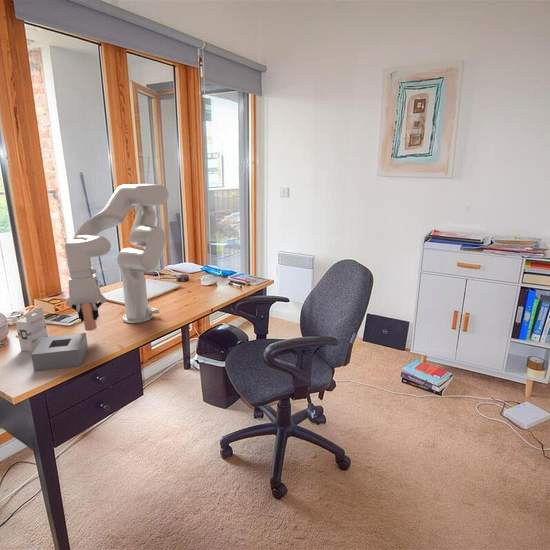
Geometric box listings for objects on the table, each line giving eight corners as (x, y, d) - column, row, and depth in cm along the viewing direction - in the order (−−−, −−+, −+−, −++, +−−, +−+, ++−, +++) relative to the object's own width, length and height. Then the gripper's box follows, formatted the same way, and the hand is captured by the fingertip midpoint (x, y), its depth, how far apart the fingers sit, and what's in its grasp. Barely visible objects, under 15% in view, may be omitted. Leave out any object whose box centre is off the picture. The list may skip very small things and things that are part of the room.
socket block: (88, 347, 146) (85, 332, 144) (80, 365, 133) (77, 349, 131) (46, 352, 142) (43, 337, 141) (34, 371, 129) (31, 354, 128)
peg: (97, 325, 152) (92, 294, 148) (95, 329, 149) (90, 297, 145) (86, 326, 151) (80, 295, 147) (84, 331, 148) (78, 299, 144)
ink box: (37, 341, 151) (31, 305, 148) (49, 342, 151) (43, 305, 147) (20, 351, 143) (13, 313, 139) (32, 352, 143) (25, 314, 139)
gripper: (107, 268, 149) (114, 313, 154) (58, 272, 145) (67, 318, 150) (104, 274, 142) (111, 320, 148) (53, 278, 138) (62, 326, 144)
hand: (89, 319), depth 149 cm, fingers closed on peg, 4 cm apart
